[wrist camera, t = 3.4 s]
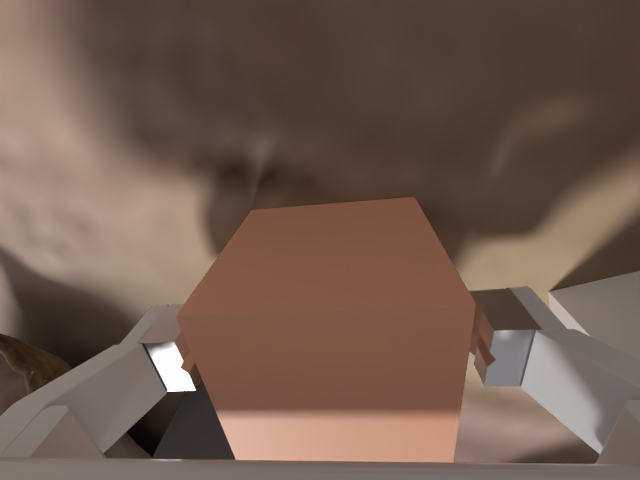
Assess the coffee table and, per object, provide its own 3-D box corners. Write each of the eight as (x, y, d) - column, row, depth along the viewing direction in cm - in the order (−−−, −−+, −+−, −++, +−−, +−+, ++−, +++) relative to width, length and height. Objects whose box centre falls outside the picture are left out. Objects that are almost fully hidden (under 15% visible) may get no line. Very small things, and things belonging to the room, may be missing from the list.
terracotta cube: (413, 195, 9) (476, 304, 5) (410, 323, 12) (451, 476, 7) (251, 209, 10) (175, 316, 5) (279, 328, 12) (241, 472, 8)
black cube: (277, 350, 13) (240, 496, 8) (338, 419, 14) (335, 569, 10) (188, 386, 14) (117, 526, 10) (253, 444, 16) (218, 585, 12)
